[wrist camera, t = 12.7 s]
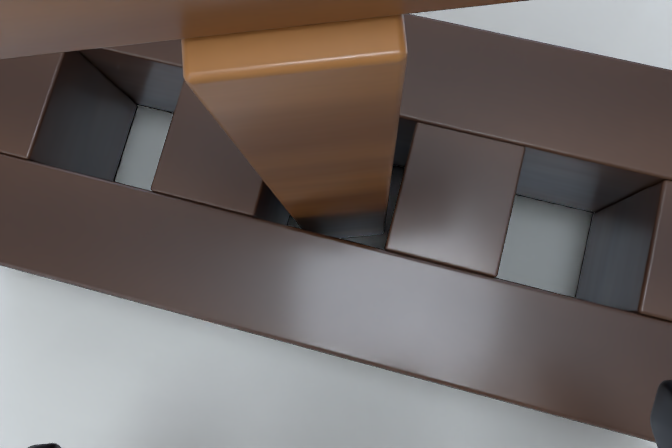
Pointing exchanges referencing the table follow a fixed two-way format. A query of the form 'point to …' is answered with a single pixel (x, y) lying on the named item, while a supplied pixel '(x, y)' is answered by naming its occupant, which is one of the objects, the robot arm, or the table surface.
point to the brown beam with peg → (269, 84)
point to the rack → (406, 226)
